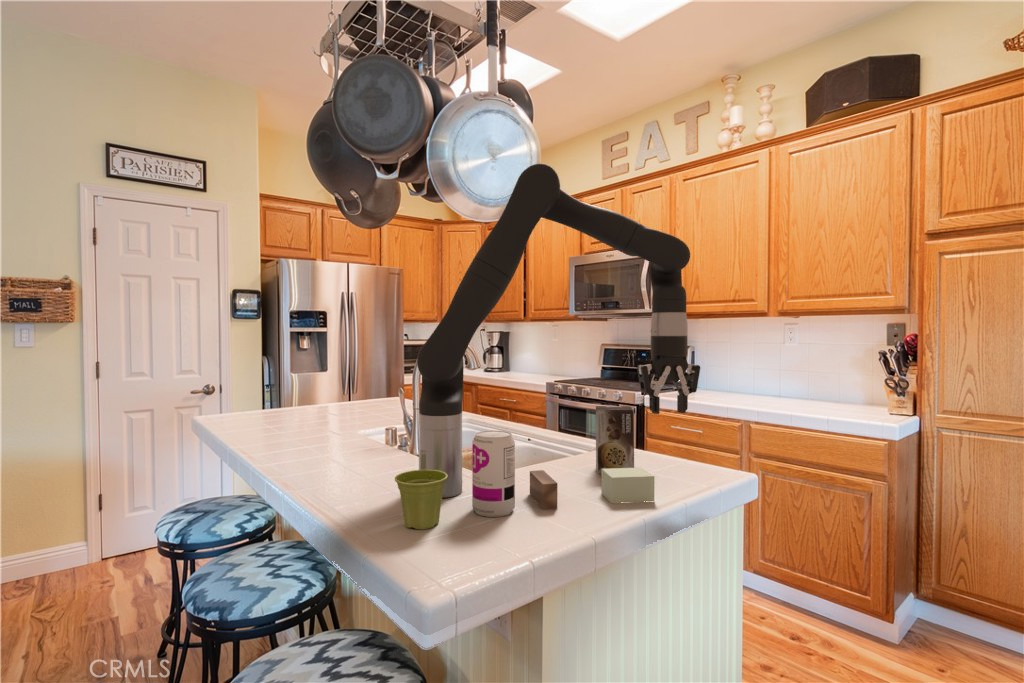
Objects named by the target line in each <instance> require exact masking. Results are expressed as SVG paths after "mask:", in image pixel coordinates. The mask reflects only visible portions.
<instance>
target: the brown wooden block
mask: <svg viewBox="0 0 1024 683" xmlns="http://www.w3.org/2000/svg"><path fill="white" fill-rule="evenodd" d="M529 495H530V496H531V498H532V499H533V500H534V501H535V503H537V505H538V506H539V507H540V508H541V510H556V509H558V482H557V481H556V480H555V479H553V478H552V477H551V476H550V475H549V474H548V473H547V472H546V471H545V470H543V469H542V470H541V469H539V470H529Z"/></svg>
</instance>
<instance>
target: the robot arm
mask: <svg viewBox="0 0 1024 683" xmlns="http://www.w3.org/2000/svg"><path fill="white" fill-rule="evenodd" d="M520 173H521V174H520V175H519V176H518V177H517V178H518V179H517V180H516V183H515V185H514V188H513V190H512V193H511V194H510V197H509V199H508V201H507V203H506V206H505V208H504V209H503V212H502V214H501V216H500V217H499V219H498V220H497V222H496V223H495V224H494V227H493V228H492V229H491V231H490V233H488V235H487V237H486V238H485V240H484V241H483V243H482V245H481V247H480V248H479V249H478V251H477V252H476V254H475V256H474V258H472V261H471V263H470V264H469V266H468V267H467V269H466V271H465V273H464V276H463V277H462V279H461V281H460V282H459V285H458V287H457V289H456V291H455V293H454V295H453V297H452V299H451V302H450V304H449V306H448V309H447V310H446V312H445V314H444V316H443V317H442V319H441V320H440V322H439V323H438V325H437V326H436V328H434V330H433V332H432V333H431V335H430V336H429V337H428V338H427V340H426V341H425V342H424V344H423V345H422V347H420V349H419V351H418V354H417V357H416V358H417V359H416V364H417V370H418V372H419V374H420V375H421V390H420V391H421V392H420V399H419V403H418V404H419V405H418V408H419V409H418V410H419V411H418V413H419V415H418V418H419V419H418V420H419V425H418V427H419V428H418V430H419V433H418V435H419V436H418V440H419V441H418V442H419V444H418V445H419V446H418V470H438V471H442V472H445V473H446V474H447V475H448V477H447V479H446V480H445V485H444V487H443V493H442V499H445V498H450V497H451V498H452V497H455V496H459V495H461V493H462V492H463V402H464V401H463V400H464V356H465V355H466V351H467V349H468V346H469V345H470V343H471V341H472V339H473V337H474V335H475V333H476V332H477V330H478V329H479V327H480V326H481V325H482V323H483V322H484V321H485V320H486V318H487V317H488V316H489V315H490V313H491V312H492V311H493V310H494V308H495V307H496V305H497V304H498V303H499V302H500V300H501V298H502V297H503V295H504V293H505V291H506V290H507V288H508V287H509V285H510V283H511V282H512V280H513V277H514V276H515V273H516V271H517V269H518V267H519V264H520V262H521V261H522V258H523V255H524V253H525V249H526V247H527V244H528V241H529V239H530V237H531V235H532V232H533V231H534V229H535V228H536V226H537V224H538V223H539V222H540V220H541V218H542V219H545V220H547V221H548V220H549V221H552V222H554V223H558V224H561V225H563V226H566V227H568V228H570V229H574V230H576V231H577V232H580V233H582V234H585V235H587V236H588V237H591V238H592V239H595V240H597V241H598V242H600V243H602V244H604V245H607V246H608V247H610V248H613V249H615V250H616V251H619V252H621V253H622V254H624V255H626V256H629V257H639V258H641V259H643V260H645V261H647V262H649V276H650V283H651V289H652V294H651V295H652V297H651V319H650V330H649V332H650V356H651V359H650V362H649V364H639V365H637V366H636V369H637V376H638V381H639V382H638V383H639V388H640V392H641V393H644V394H647V395H648V399H649V410H650V411H651V413H652V414H654V415H659V414H660V405H661V404H660V403H661V402H660V396H659V395H660V392H661V390H662V388H663V387H664V385H665V383H669V382H673V385H674V386H675V388H676V391H677V393H678V394H677V403H676V404H677V405H676V408H677V413H680V414H686V411H688V407H689V406H688V400H689V399H688V398H689V395H690V394H692V393H697V390H698V384H699V378H700V372H701V366H700V365H699V364H693V363H692V364H689V362H688V360H687V356H688V317H687V290H686V289H685V287H684V286H683V280H682V270H683V269H685V268H686V267H687V265H688V264H689V262H690V259H691V252H690V251H691V250H690V248H689V246H688V245H687V243H685V242H684V241H683V240H681V239H680V238H679V237H676V236H674V235H671V234H669V233H666V232H663V231H661V230H657V229H654V228H649V227H647V226H645V225H643V224H642V223H640V222H638V221H636V220H634V219H632V218H630V217H628V216H626V215H624V214H621V213H620V212H617V211H614V210H611V209H608V208H603V207H600V206H596V205H593V204H589V203H586V202H583V201H581V200H579V199H577V198H575V197H574V196H572V195H570V194H568V193H566V192H565V191H564V190H563V189H561V181H560V178H559V175H558V172H557V171H556V170H555V169H554V168H553V167H552V166H550V165H548V164H547V163H535V164H531V165H530V166H528V167H526V168H525V169H524V170H523V171H522V172H520ZM651 372H652V374H653V377H652V378H651V381H650V373H651ZM685 373H687V377H686V378H687V379H686V378H685V375H684V374H685Z"/></svg>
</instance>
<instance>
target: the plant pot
mask: <svg viewBox="0 0 1024 683" xmlns="http://www.w3.org/2000/svg"><path fill="white" fill-rule="evenodd" d="M447 477H448V475H447V474H446V473H445V472H442V471H438V470H419V469H415V470H408V471H404V472H401V473H398V474H397V475H396V476H394V481H395V483H397V488H398V491H399V494H400V495H399V496H400V500H401V501H400V502H401V508H402V513H403V515H402V516H403V522H404V525H405V527H406V528H408V529H411V528H413V529H415V530H426V529H431V528H434V526H435V525H438V524H439V523H440V516H441V515H440V514H441V508H442V507H441V506H442V500H443V498H442V493H443V487H444V485H445V480H446V479H447Z"/></svg>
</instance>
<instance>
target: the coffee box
mask: <svg viewBox="0 0 1024 683" xmlns="http://www.w3.org/2000/svg"><path fill="white" fill-rule="evenodd" d="M634 411H635V410H634V408H633V407H632V406H630V405H596V406H595V468H596V473H597V474H598V475H602V469H610V468H635V423H634V422H635V420H634V414H635V412H634Z"/></svg>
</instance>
